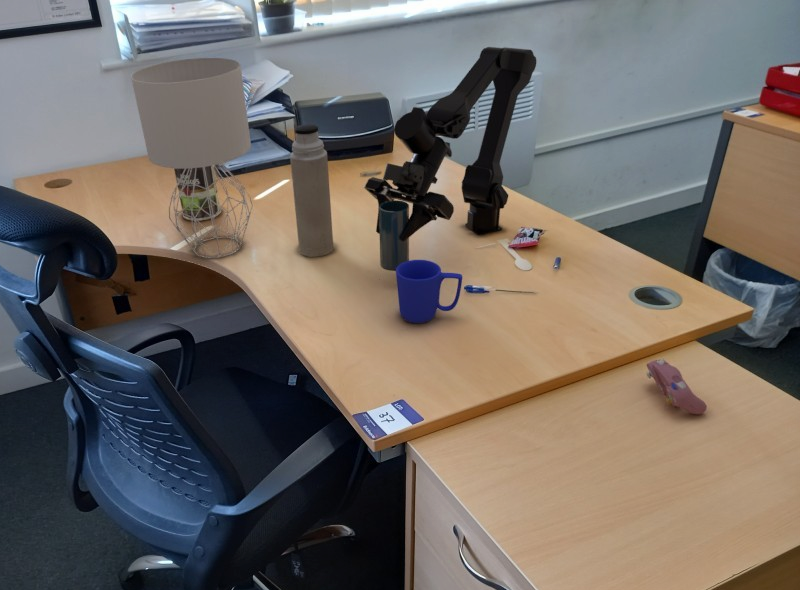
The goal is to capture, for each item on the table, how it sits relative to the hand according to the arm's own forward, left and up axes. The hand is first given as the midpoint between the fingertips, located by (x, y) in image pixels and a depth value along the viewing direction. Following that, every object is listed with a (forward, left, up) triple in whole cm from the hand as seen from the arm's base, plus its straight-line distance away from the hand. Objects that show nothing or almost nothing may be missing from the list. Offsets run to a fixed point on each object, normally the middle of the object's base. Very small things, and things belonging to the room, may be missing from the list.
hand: (389, 236), depth 135 cm
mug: (-1, +15, -11) cm, 18 cm away
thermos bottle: (+8, -23, -11) cm, 27 cm away
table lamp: (+29, -35, -11) cm, 47 cm away
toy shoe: (-24, +53, -11) cm, 59 cm away
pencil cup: (-1, -1, -7) cm, 7 cm away
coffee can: (+28, -58, -11) cm, 66 cm away
